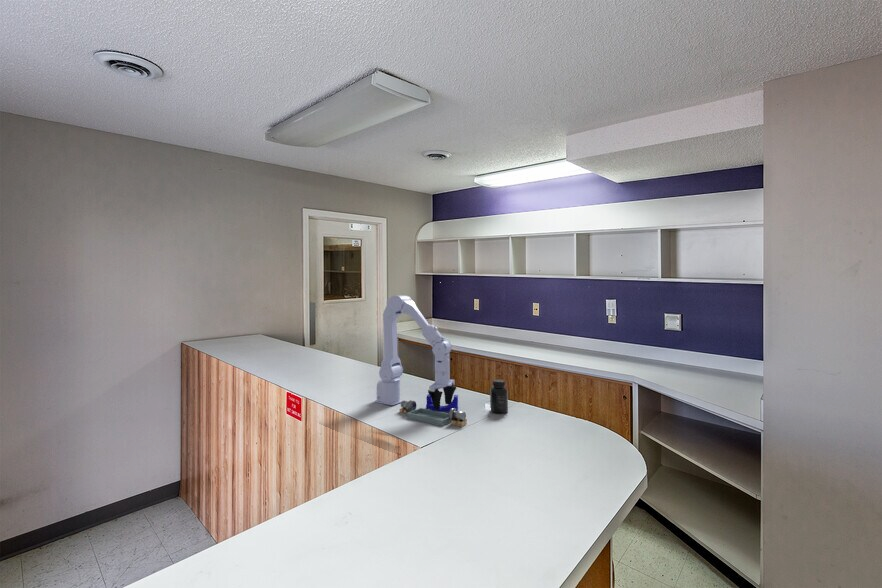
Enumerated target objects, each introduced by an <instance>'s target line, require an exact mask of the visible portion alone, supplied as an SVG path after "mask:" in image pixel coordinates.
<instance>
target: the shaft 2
mask: <svg viewBox="0 0 882 588" xmlns="http://www.w3.org/2000/svg"><path fill="white" fill-rule="evenodd" d="M448 413H449V420H450V421H452V422H451V427H458V428H459V427H460V428H463V427H465V426H466V425H467V422H468V421H467V419H468V418H466V417H467V413H466V412H465V411H461V410H460V411H459V410H458V411H456V409H455V408H451V409H450V411H448Z"/></svg>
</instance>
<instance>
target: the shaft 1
mask: <svg viewBox="0 0 882 588" xmlns="http://www.w3.org/2000/svg"><path fill="white" fill-rule="evenodd" d="M400 407H401V408H399V413H402V414H403V415H406V416H407V413H408V412H411V411H414V410H416V409H417V402H416V401H415V400H413V399H410V400H409V401H407V400H405V401H402V402H401V403H400Z"/></svg>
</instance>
